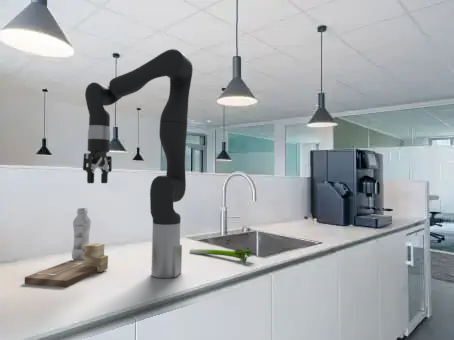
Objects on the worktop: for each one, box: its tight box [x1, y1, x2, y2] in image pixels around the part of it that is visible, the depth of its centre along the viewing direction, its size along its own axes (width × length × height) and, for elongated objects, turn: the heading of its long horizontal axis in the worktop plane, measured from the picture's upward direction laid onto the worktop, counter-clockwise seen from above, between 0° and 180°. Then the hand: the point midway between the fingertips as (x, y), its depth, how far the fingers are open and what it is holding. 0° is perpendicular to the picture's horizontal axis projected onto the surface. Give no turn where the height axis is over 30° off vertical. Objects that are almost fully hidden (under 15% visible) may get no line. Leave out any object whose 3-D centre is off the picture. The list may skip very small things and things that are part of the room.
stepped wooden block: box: [83, 242, 109, 273], centre depth 110 cm, size 8×4×8 cm, turn 80°
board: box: [24, 259, 98, 289], centre depth 104 cm, size 14×21×2 cm, turn 170°
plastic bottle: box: [71, 207, 92, 261], centre depth 123 cm, size 6×7×20 cm
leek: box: [188, 247, 254, 264], centre depth 131 cm, size 6×7×30 cm
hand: (97, 183), depth 116 cm, fingers open, 8 cm apart
